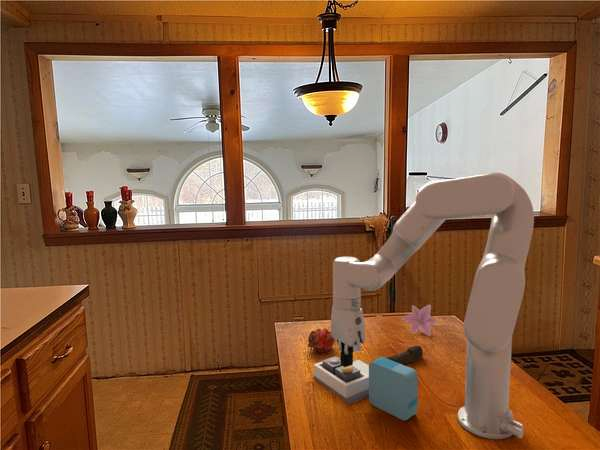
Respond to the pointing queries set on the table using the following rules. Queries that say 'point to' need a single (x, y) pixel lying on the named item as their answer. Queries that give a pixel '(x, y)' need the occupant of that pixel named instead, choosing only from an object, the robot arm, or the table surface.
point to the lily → (420, 319)
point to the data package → (393, 388)
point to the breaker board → (344, 390)
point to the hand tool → (408, 355)
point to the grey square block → (331, 364)
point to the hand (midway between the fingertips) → (346, 364)
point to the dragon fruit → (321, 340)
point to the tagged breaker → (347, 373)
